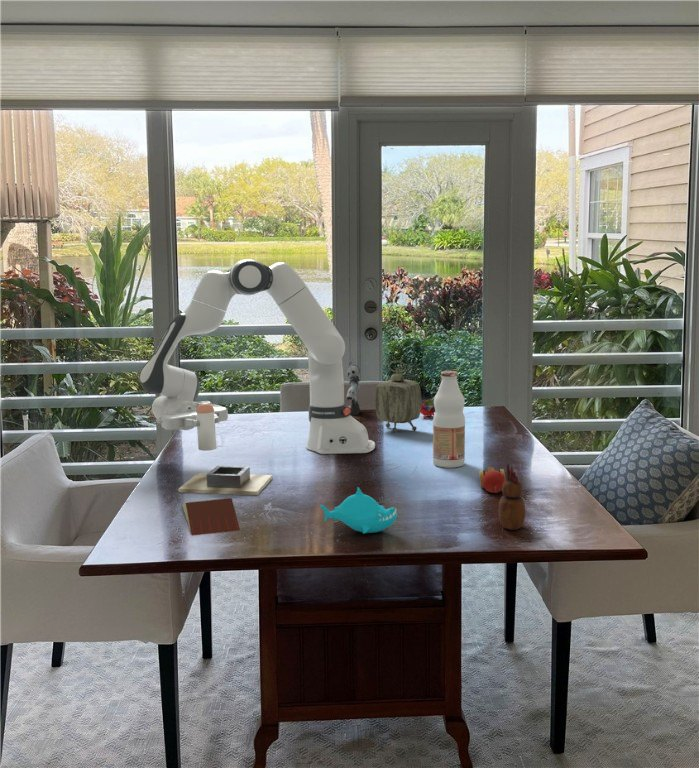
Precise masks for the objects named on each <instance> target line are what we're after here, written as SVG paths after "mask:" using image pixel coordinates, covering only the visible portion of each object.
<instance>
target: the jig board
mask: <svg viewBox="0 0 699 768" xmlns="http://www.w3.org/2000/svg"><path fill="white" fill-rule="evenodd" d="M208 473H209V472H197V473H196V474H195V475H193V476H192V477H191V478H190V479H188V480H187V481H186V482H184V484H183V485H181V486H180V487H179V488H178V493H184V494H185V493H186V494H189V493H191V494H215V495H242V496H243V495H246V496H247V495H249V496H250V495H251V496H258V495H259V494H260V493H262V491H263V490H264V488H266V486H267V485H268V484H269V483H270V482H271V480H272V479H273V474H251V473H250V479H249V480H248V481H247V482H246V483H245V484H244V485H243V486H242V487H241V488H215V487H207V474H208Z"/></svg>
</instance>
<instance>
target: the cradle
mask: <svg viewBox="0 0 699 768" xmlns="http://www.w3.org/2000/svg"><path fill="white" fill-rule="evenodd" d="M207 473H208V474H207V487H215V488H241V487H242V486H243V485H244V484H245V483H246V482H247V481H248V480H249V479H250V474H251V467H250V466H245V465H244V466H243V465H242V466H241V465H240V466H238V465H236V466H235V465H216V466H215V467H214V468H213V469H212V470H210V471H209V472H207Z"/></svg>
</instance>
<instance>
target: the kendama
mask: <svg viewBox="0 0 699 768" xmlns="http://www.w3.org/2000/svg"><path fill="white" fill-rule="evenodd" d="M505 473H506V471H505V468H500V469H499V470H496V469H495V468H494V467H493V466H489V467H487V468H486V469H485V471H484V470H479V471H478V475H479V483H480V488H481V489H484V490H485V491H487V492H488V493H491V494H498V493H500V492H502V485H503V483H504V481H506V474H505Z"/></svg>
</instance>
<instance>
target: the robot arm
mask: <svg viewBox="0 0 699 768" xmlns="http://www.w3.org/2000/svg"><path fill="white" fill-rule="evenodd" d="M261 292H266V293H268V294H269V296H271V298H272V299H273V301H274V302H275V303H276V305H277V307H278V308H279V309H280V311H281V313H282V314H283V316H284V317H285V318H286V319H287V322H289V324H290V326H291V327H292V329H293V330H294V331H295V333H296V334H297V336H298V337H299V339H300V340H301V342H302V343H303V345H304V346H305V348H306V350H307V358H308V359H307V360H308V376H309V378H308V379H309V405H308V420H309V421H308V422H309V430H308V437H307V441H306V445H305V449H307V450H309V451H312V452H316V453H318V454H321V455H328V454H329V455H330V454H331V455H332V454H336V455H337V454H367V453H370V452H371V451H374V449H375V448H376V443H375V441H373V440H371V439H369V434H368V430H367V427H365V426H364V424H362V423H360V421H358V420H356V418H354V417H353V416H352V415H350V413H351V410H350V406H351V405H347V404H346V403H345V387H344V386H345V384H344V383H345V380H344V367H343V356H344V354H345V351H346V344H345V340H344V338H343V336H341V334H340V332H339V331H338V329H337V328H336V327H335V325H334V323H333V322H332V321H331V319H330V318H329V317H328V315H327V314H326V313H325V311H324V310H323V308H322V306H321V305H320V303H319V301H317V299H316V297H315V296H314V295H313V293H312V291H311V290H310V289H309V286H308V285H306V283H305V282H304V280H303V279H302V277H301V276H300V275H299V274H298V273H297V271H296V270H294V268H293V267H291V265H290V264H288V262H283V261H281V262H280V261H279V262H275V263H274V264H272V265H270V266H268V265H266V264H263V263H262V262H259V261H257V260H256V259H250V258H244V259H241V260H239V261H237V262H236V263H235V264H234V265H233V266H232V267H231V268H230V269H228V270H227V271H226V272H223V271H221V270H210V271H209V270H208V271H207V272H205V273H204V274H203V276H202V278H201V280H200V281H199V282H198V285H197V287H196V289H195V291H194V293H193V296H192V298H191V302H190V303H189V305H188V307H186V308H185V310H184V311H183V312H181V313H178V314H176V315H175V316H174V317H173V318H172V320H171V321H170V323H169V324H168V326H167V328H166V330H165V332H164V333H163V335H162V337H161V338H160V340H159V342H158V343H157V346H156V347H155V349H154V352H153V353H152V355H151V356H150V358H149V359H148V360H147V362H146V363H145V365H144V366H143V367H142V369H141V371H140V374H139V383H140V385H141V387H142V388H143V390H144V391H145V393H147V394H151V395H160V396H158V397H156V398H155V399H154V400H153V402H152V404H151V411H152V414H153V416H154V417H155V418H156V420H155V423H157V424H161V428H163V429H165V430H166V431H175V430H183V431H190V430H192V429H194V428H197V426H200V424H199V420H197V415H196V410H197V407H198V406H199V405H200V404H202V403H209V404H211V405H212V406H213V408H214V413H215V424H219V423H221V422H226V421H228V419H229V411H228V409H227V408H226V407H225V406H222V405H219V404H214V403H212V402H211V401H209V400H202V401H201V400H200V401H197V399H198V396H199V393H200V389H201V388H200V386H201V385H200V381H199V378H198V375H197V374H196V372H194V371H192V370H188V369H185V368H181V367H178V366H175V365H171V364H168V362H169V360H170V359H171V357H172V355H173V354H174V351H175V349H176V348H177V346H178V345H179V342H180V341H181V340H183V339H185V338H186V337H189V336H194V335H206V334H209V333H212V332H215V331H216V330H217V329H219V328H220V327H221V325H222V323H223V321H224V317H225V315H226V312H227V310H228V307H229V305H230V302H231V300H232V298H234V297H235V295H243V296H252V295H256V294H258V293H259V294H260V293H261Z"/></svg>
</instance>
